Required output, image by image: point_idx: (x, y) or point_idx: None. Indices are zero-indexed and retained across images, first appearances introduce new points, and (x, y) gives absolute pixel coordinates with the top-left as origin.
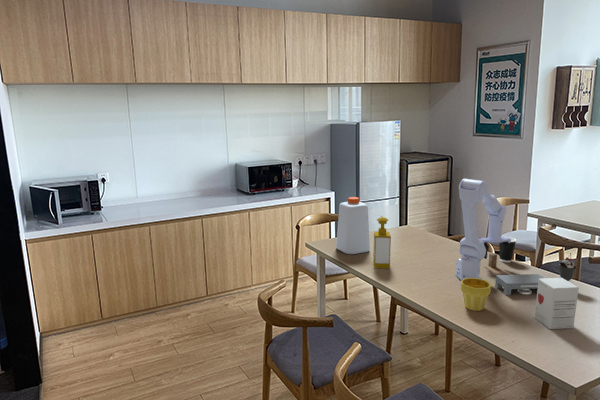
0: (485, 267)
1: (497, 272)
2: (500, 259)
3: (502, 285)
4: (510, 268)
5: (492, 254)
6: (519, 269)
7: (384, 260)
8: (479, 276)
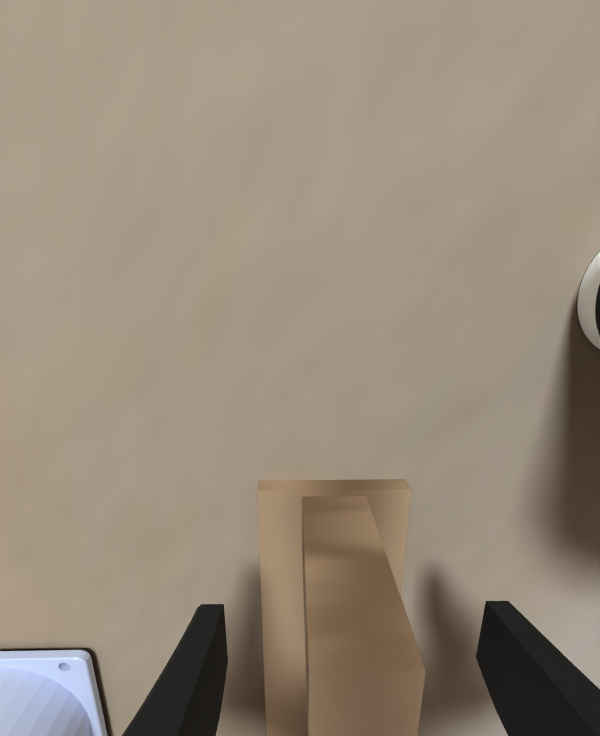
0: (259, 507)
1: (302, 665)
2: (595, 279)
3: None
4: (516, 534)
5: (340, 724)
6: (586, 563)
7: None
8: (95, 728)
